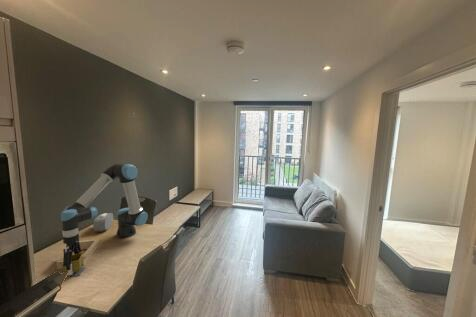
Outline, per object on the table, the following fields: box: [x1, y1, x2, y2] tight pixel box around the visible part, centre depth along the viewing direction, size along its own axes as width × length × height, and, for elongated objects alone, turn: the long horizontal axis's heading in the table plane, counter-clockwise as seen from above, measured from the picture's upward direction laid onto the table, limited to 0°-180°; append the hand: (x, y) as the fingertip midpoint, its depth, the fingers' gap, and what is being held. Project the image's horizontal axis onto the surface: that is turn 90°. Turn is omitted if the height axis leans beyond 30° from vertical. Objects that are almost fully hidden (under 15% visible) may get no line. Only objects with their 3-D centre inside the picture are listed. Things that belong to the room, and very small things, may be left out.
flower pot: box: [62, 252, 84, 273], centre depth 126 cm, size 9×9×9 cm
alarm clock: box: [92, 212, 114, 232], centre depth 189 cm, size 21×10×13 cm, turn 14°
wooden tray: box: [52, 238, 100, 270], centre depth 143 cm, size 19×28×6 cm
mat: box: [65, 266, 86, 279], centre depth 127 cm, size 9×8×1 cm
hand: (73, 269), depth 126 cm, fingers closed on flower pot, 9 cm apart
